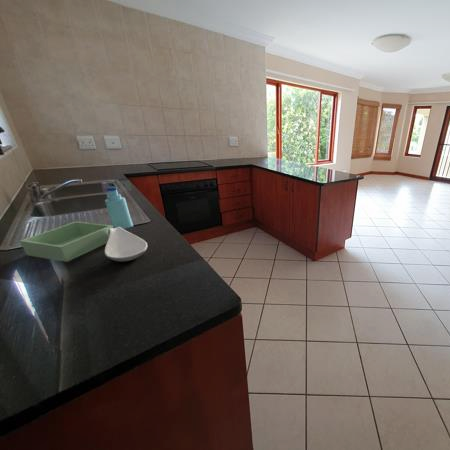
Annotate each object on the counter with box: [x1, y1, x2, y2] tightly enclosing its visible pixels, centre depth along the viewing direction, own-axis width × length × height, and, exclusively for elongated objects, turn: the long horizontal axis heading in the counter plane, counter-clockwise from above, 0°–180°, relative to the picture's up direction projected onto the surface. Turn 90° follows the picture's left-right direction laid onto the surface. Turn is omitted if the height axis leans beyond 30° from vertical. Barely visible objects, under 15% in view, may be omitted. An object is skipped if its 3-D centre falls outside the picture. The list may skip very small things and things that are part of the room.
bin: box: [19, 220, 114, 263], centre depth 86 cm, size 18×18×6 cm
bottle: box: [104, 185, 134, 230], centre depth 100 cm, size 7×7×18 cm
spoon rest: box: [104, 227, 148, 262], centre depth 83 cm, size 24×12×7 cm, turn 49°
